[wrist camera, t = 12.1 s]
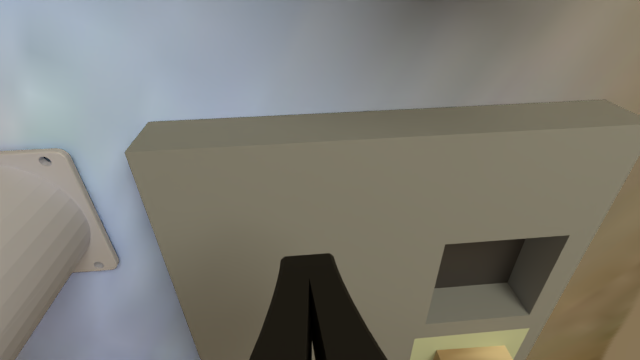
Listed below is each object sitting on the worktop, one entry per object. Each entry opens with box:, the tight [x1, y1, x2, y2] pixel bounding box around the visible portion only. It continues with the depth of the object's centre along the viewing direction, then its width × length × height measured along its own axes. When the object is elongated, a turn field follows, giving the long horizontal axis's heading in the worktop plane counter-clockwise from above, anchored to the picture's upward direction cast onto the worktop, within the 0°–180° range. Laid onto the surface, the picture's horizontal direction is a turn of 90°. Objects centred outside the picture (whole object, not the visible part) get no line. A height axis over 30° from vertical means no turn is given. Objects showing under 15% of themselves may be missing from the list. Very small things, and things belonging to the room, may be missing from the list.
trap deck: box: [125, 100, 640, 360], centre depth 25 cm, size 23×32×3 cm
